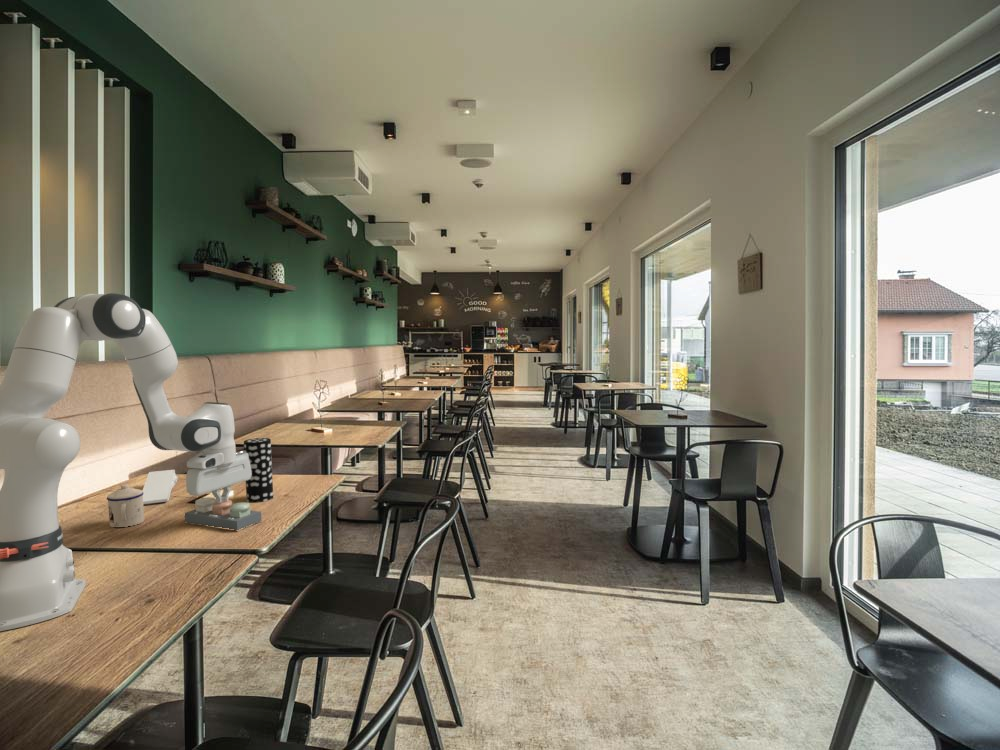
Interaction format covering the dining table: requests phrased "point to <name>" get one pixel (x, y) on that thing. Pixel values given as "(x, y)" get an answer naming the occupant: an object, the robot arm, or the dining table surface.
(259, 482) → the spotted tube
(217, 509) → the pink dome knob
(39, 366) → the robot arm
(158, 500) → the wall bracket
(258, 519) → the button panel
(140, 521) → the teacup with lid
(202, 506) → the button one dot
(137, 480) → the dining table surface
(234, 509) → the button two dots
